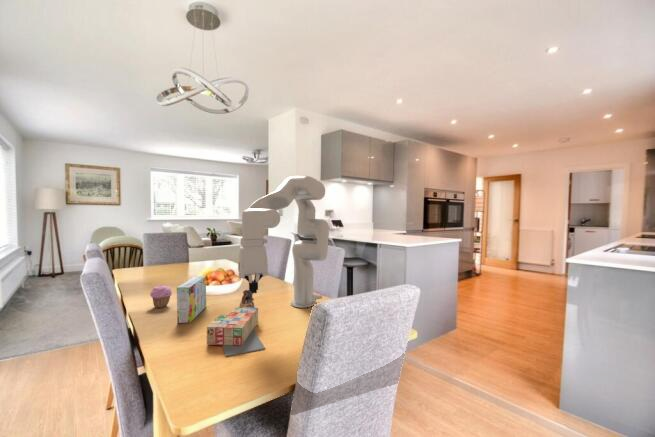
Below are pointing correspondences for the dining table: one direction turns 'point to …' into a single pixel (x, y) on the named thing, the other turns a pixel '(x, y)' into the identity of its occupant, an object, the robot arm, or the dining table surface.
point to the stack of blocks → (232, 327)
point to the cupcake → (161, 296)
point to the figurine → (247, 300)
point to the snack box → (191, 299)
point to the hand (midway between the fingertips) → (253, 292)
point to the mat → (245, 346)
